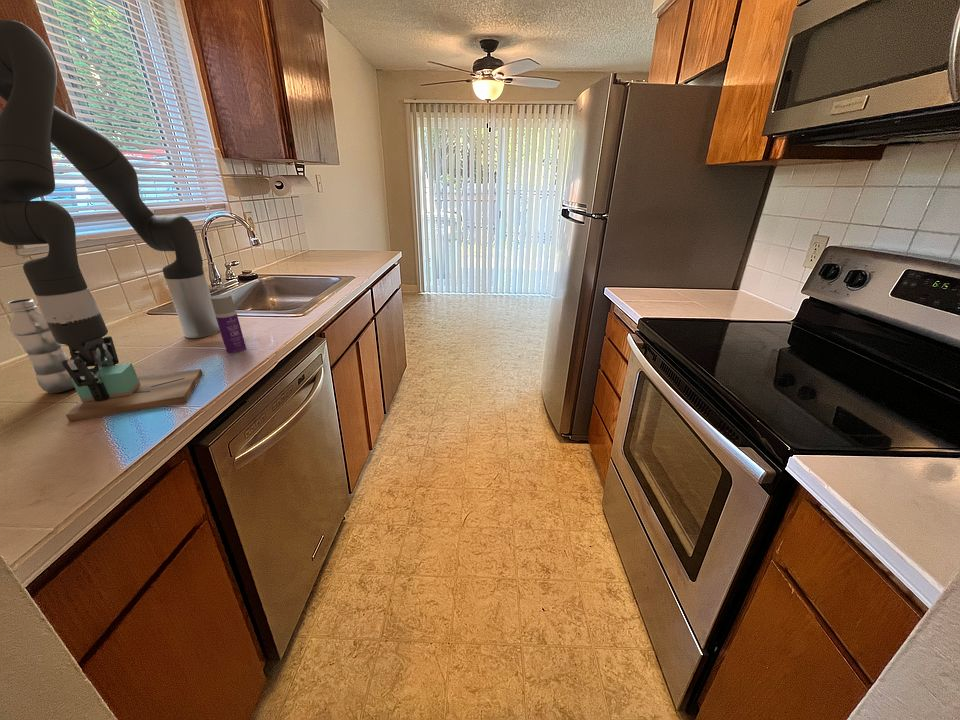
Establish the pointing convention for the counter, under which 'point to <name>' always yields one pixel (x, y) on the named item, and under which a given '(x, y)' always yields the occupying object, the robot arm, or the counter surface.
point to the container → (228, 324)
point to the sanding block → (113, 382)
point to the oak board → (142, 396)
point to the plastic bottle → (40, 346)
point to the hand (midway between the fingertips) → (108, 393)
